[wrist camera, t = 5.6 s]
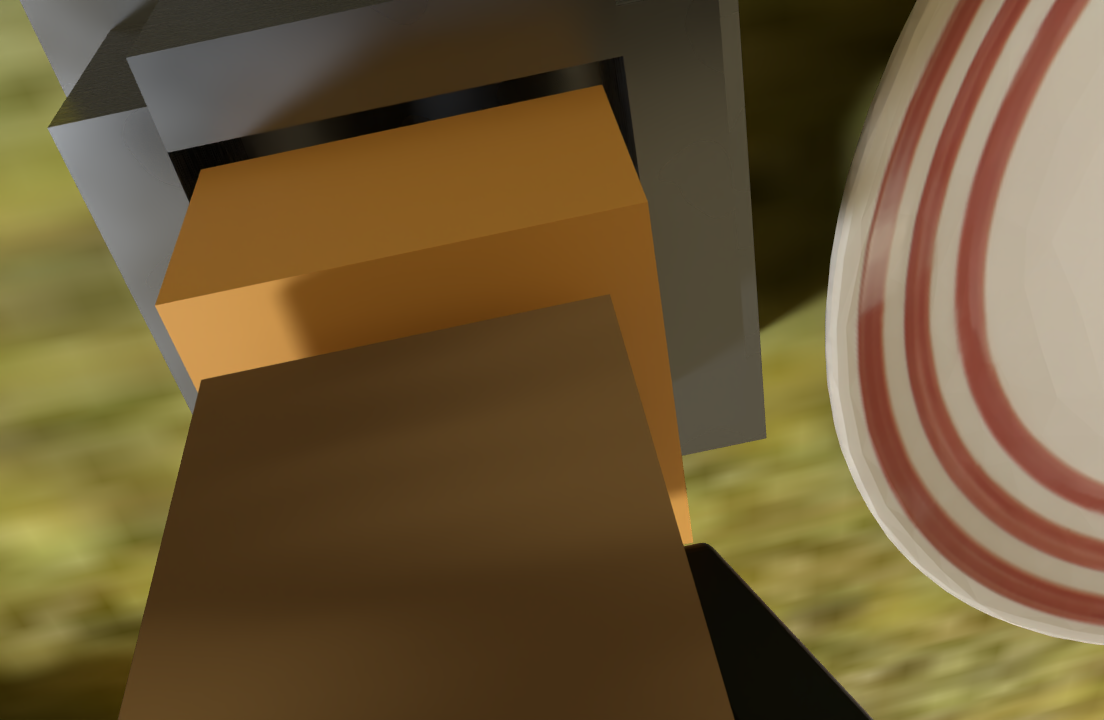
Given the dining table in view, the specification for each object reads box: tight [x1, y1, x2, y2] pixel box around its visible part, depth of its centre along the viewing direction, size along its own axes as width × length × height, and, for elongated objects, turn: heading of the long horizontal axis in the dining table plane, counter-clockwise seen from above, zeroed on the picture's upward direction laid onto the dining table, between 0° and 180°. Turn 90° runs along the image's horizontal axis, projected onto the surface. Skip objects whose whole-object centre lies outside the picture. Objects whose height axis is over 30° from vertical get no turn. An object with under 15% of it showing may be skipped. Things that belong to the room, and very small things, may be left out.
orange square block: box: [155, 85, 693, 544], centre depth 13 cm, size 5×5×3 cm
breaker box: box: [20, 0, 766, 455], centre depth 17 cm, size 10×14×6 cm
